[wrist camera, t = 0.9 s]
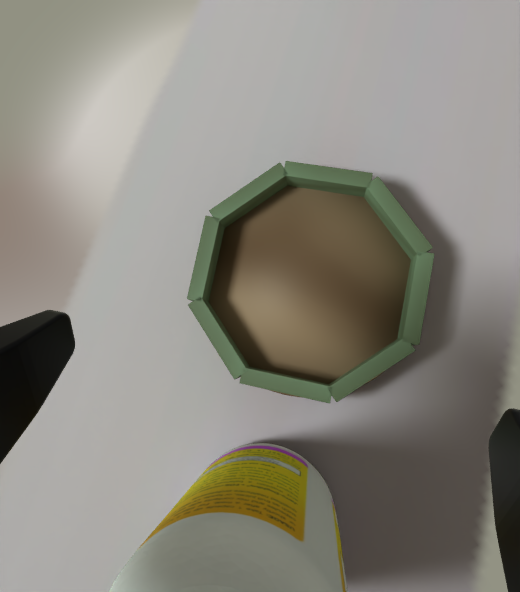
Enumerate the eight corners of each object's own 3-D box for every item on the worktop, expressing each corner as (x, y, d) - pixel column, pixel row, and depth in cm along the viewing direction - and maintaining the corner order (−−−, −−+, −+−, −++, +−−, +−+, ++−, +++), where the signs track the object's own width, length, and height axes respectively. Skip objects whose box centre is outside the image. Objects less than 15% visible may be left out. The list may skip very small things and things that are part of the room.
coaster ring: (401, 419, 19) (410, 426, 17) (179, 369, 21) (166, 371, 19) (439, 194, 20) (451, 179, 18) (224, 163, 22) (216, 147, 20)
